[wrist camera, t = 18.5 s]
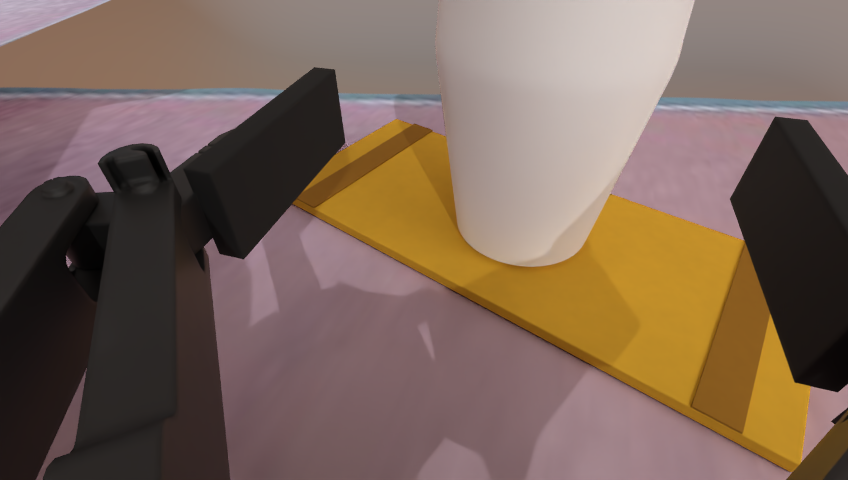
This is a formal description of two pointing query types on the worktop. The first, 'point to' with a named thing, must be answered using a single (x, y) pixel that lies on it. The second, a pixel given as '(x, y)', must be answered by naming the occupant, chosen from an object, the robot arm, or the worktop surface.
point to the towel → (591, 289)
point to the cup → (547, 112)
